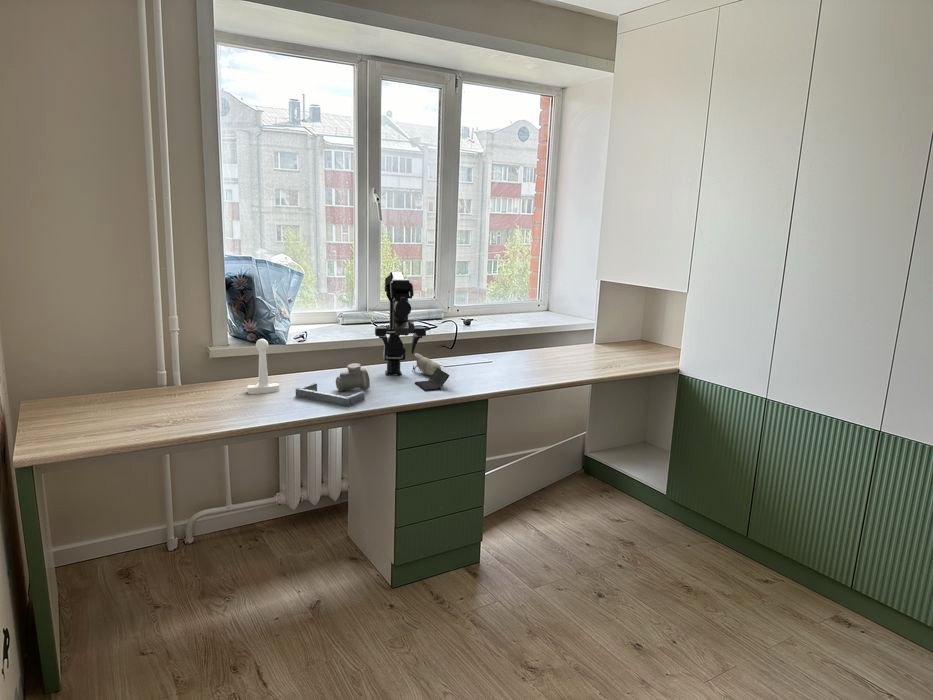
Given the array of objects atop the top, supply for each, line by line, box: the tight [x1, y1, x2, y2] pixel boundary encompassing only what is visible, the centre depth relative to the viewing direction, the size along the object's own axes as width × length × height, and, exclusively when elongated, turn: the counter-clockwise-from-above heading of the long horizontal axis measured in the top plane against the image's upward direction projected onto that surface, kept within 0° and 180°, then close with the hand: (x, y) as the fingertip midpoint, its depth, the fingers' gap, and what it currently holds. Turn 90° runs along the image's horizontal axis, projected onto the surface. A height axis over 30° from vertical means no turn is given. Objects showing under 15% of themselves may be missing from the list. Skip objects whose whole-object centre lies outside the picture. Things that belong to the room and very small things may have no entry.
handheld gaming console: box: [414, 368, 450, 392], centre depth 247 cm, size 13×8×11 cm
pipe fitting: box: [335, 362, 371, 393], centre depth 238 cm, size 12×8×10 cm
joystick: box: [246, 338, 280, 395], centre depth 232 cm, size 11×8×20 cm
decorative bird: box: [412, 352, 442, 376], centre depth 265 cm, size 6×17×8 cm, turn 40°
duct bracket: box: [295, 382, 366, 408], centre depth 227 cm, size 10×23×3 cm, turn 64°
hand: (400, 353), depth 236 cm, fingers open, 9 cm apart
